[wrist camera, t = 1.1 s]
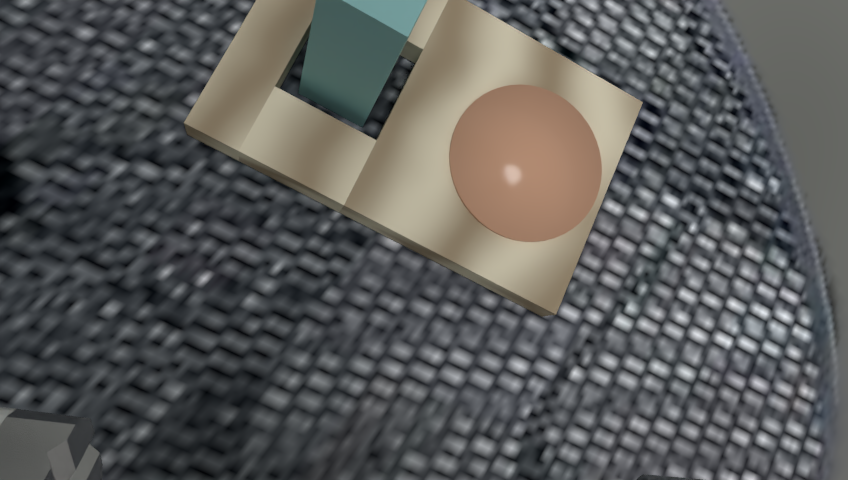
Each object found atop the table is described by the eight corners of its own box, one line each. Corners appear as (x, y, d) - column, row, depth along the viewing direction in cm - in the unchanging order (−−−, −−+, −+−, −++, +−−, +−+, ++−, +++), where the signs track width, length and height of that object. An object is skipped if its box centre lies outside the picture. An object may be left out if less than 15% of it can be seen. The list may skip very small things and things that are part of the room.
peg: (298, 93, 40) (318, -13, 28) (330, 34, 41) (362, -91, 29) (362, 127, 40) (407, 37, 29) (392, 69, 41) (448, -41, 30)
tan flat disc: (422, 194, 38) (424, 193, 38) (488, 58, 41) (489, 56, 40) (564, 269, 40) (567, 269, 39) (621, 133, 42) (623, 132, 42)
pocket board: (187, 134, 38) (184, 122, 36) (306, -70, 41) (309, -91, 39) (541, 316, 41) (555, 314, 39) (625, 113, 44) (642, 102, 43)
